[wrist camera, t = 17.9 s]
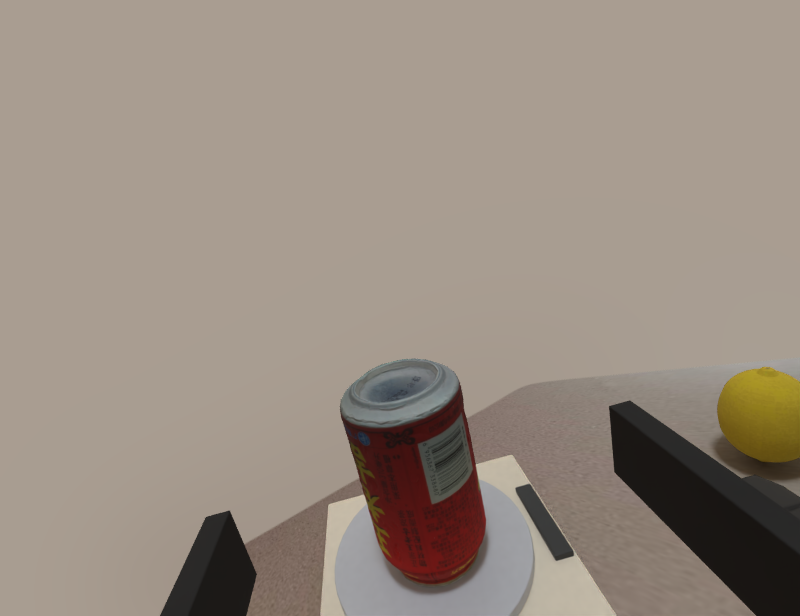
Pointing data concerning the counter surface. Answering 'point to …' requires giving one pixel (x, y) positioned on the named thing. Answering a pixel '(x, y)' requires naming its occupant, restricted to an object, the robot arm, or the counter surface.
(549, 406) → the counter surface
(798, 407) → the lemon
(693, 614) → the counter surface
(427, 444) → the soda can
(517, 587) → the kitchen scale
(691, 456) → the robot arm
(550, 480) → the counter surface
